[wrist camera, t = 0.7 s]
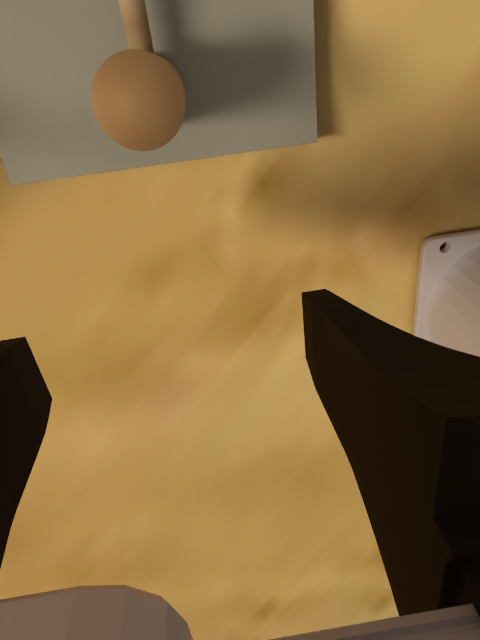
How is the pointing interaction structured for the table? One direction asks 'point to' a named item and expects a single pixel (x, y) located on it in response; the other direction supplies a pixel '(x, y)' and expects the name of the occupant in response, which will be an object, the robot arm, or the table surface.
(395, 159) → the table surface
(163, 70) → the block
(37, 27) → the lane shelf
